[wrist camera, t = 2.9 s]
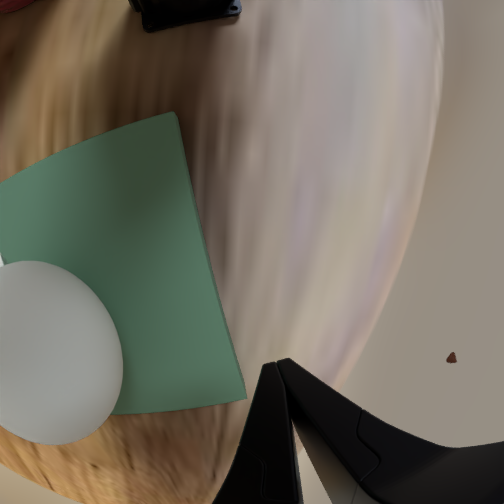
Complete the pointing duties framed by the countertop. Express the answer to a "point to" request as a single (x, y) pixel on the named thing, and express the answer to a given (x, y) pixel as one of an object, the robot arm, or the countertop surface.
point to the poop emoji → (451, 358)
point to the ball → (55, 355)
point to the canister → (13, 5)
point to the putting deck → (132, 258)
